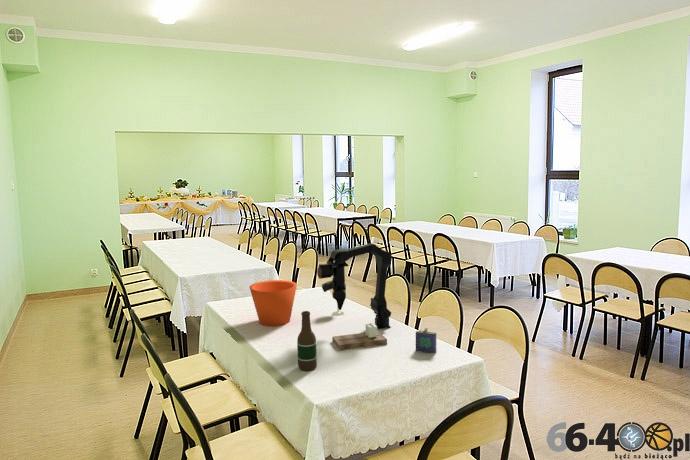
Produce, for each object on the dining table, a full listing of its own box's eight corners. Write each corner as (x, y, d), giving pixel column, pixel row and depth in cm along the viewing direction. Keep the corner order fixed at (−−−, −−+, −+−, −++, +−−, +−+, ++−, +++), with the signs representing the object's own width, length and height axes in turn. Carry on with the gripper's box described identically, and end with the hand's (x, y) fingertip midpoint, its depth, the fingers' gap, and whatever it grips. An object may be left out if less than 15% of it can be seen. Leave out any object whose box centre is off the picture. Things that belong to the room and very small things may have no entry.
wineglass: (343, 315, 281) (343, 284, 278) (329, 315, 282) (328, 283, 280) (346, 311, 288) (346, 280, 286) (332, 311, 290) (331, 280, 288)
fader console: (377, 335, 248) (377, 330, 247) (387, 344, 236) (387, 338, 236) (332, 341, 241) (332, 336, 241) (339, 350, 230) (339, 344, 229)
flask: (436, 351, 227) (436, 328, 225) (436, 353, 224) (436, 330, 223) (415, 349, 229) (415, 326, 228) (415, 351, 227) (414, 328, 225)
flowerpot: (241, 326, 266) (240, 289, 264) (266, 312, 289) (265, 278, 287) (284, 331, 257) (282, 293, 254) (306, 317, 280) (305, 281, 277)
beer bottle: (298, 364, 215) (296, 309, 212) (316, 363, 216) (315, 308, 212) (298, 372, 207) (296, 315, 204) (317, 371, 208) (315, 314, 205)
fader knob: (373, 333, 243) (373, 323, 242) (377, 336, 238) (377, 326, 238) (365, 334, 242) (365, 323, 241) (369, 337, 237) (369, 327, 236)
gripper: (323, 272, 256) (324, 302, 259) (321, 281, 238) (322, 313, 240) (345, 271, 256) (346, 301, 258) (345, 280, 238) (346, 312, 240)
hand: (340, 307), depth 249 cm, fingers open, 9 cm apart
